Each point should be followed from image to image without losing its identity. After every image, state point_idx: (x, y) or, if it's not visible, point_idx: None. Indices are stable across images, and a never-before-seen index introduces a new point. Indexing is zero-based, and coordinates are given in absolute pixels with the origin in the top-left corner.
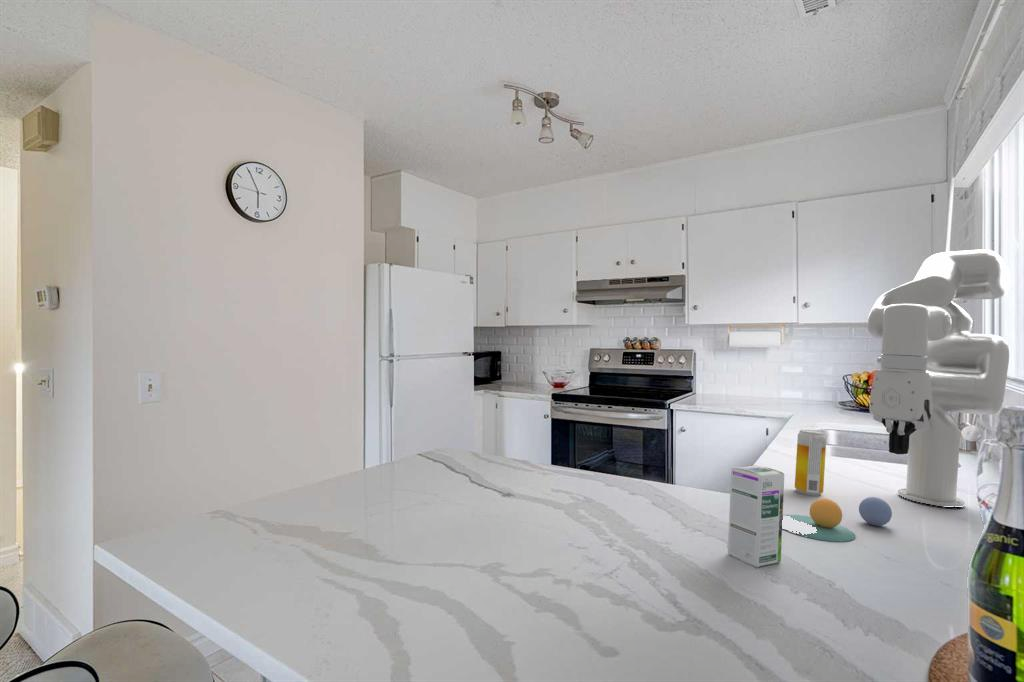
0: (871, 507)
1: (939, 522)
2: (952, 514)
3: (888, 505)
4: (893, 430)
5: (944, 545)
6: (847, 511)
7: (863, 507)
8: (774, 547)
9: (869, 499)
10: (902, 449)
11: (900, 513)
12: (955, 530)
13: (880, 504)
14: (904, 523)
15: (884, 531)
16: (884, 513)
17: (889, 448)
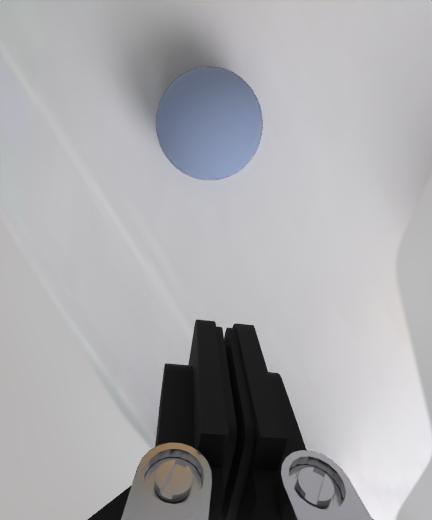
0: (197, 73)
1: (165, 358)
2: None
3: (170, 145)
4: (276, 499)
5: (14, 151)
6: (324, 182)
7: (227, 70)
8: None
9: (222, 97)
10: (172, 365)
11: None
12: (108, 332)
13: (178, 102)
14: (187, 249)
15: (152, 84)
16: (161, 101)
17: (253, 336)
